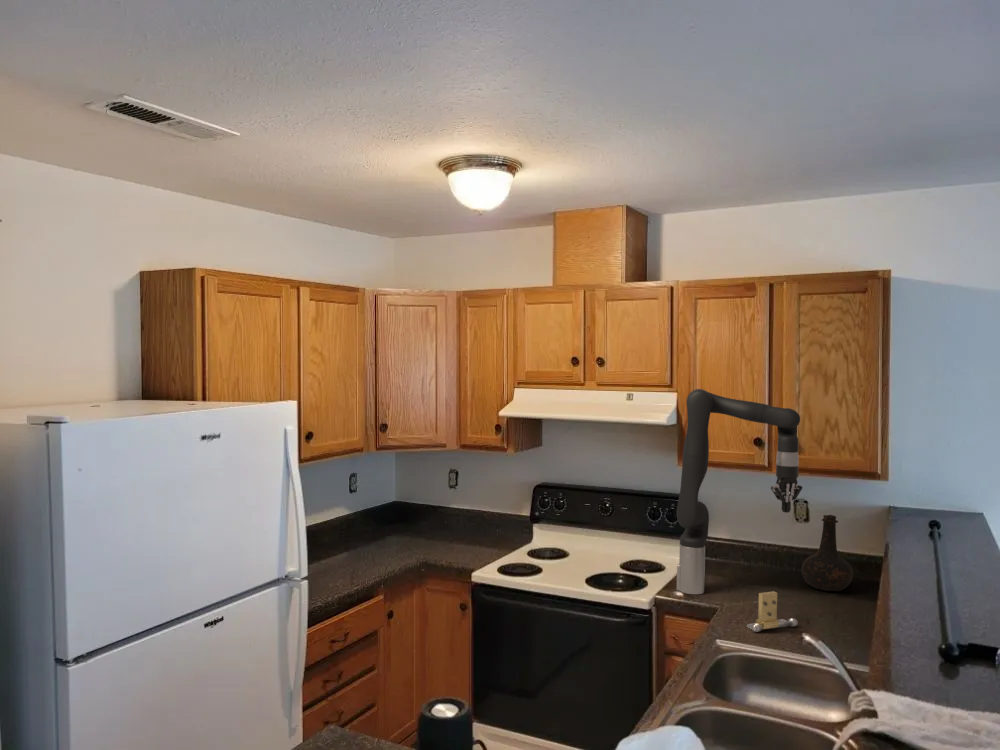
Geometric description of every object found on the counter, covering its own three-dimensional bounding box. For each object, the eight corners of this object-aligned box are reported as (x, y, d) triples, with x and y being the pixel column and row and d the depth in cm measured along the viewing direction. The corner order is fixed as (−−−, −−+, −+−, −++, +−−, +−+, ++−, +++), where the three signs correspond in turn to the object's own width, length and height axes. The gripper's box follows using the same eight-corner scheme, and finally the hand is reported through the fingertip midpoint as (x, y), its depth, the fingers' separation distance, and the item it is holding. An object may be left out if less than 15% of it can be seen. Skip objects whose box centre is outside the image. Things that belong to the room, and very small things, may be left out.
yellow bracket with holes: (763, 628, 236) (764, 595, 236) (755, 625, 239) (756, 592, 239) (778, 626, 238) (779, 593, 238) (770, 622, 242) (771, 590, 241)
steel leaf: (756, 633, 235) (756, 625, 235) (744, 627, 241) (744, 619, 241) (798, 627, 242) (798, 619, 242) (785, 621, 247) (786, 613, 247)
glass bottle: (793, 587, 285) (795, 514, 285) (813, 578, 298) (814, 508, 297) (841, 599, 272) (843, 522, 272) (859, 589, 285) (861, 516, 284)
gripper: (780, 466, 262) (779, 515, 263) (809, 464, 267) (808, 513, 268) (765, 463, 269) (764, 511, 270) (793, 462, 274) (792, 509, 275)
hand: (786, 512), depth 269 cm, fingers closed
